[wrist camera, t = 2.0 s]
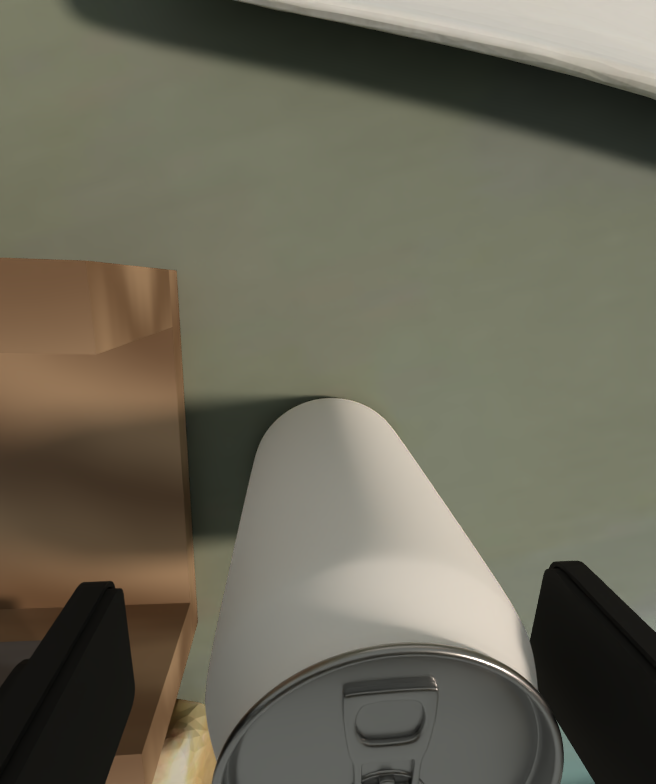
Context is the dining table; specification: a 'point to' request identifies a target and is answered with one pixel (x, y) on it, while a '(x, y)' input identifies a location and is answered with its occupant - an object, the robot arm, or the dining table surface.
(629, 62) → the square plate
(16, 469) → the holder
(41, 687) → the robot arm
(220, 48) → the dining table surface
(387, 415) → the dining table surface
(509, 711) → the can
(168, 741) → the ashtray
